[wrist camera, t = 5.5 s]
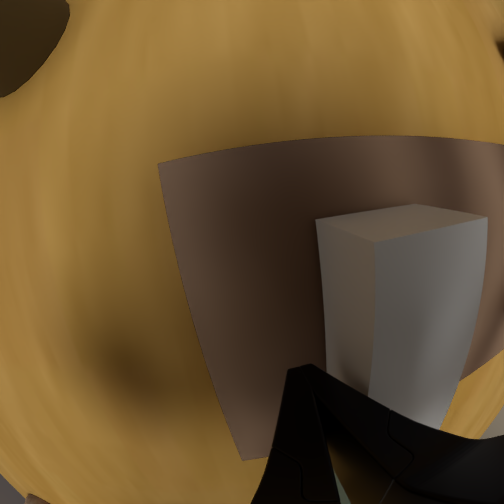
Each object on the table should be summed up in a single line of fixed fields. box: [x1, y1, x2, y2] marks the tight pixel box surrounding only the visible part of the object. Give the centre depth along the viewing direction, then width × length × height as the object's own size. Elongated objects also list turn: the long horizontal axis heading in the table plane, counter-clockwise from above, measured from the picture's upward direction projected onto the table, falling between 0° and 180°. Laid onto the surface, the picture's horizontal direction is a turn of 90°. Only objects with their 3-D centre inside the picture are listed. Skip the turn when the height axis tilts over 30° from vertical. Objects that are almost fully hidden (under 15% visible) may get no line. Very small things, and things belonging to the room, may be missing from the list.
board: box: [158, 136, 504, 461], centre depth 9 cm, size 20×14×5 cm
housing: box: [315, 204, 488, 430], centre depth 8 cm, size 4×9×4 cm, turn 10°
